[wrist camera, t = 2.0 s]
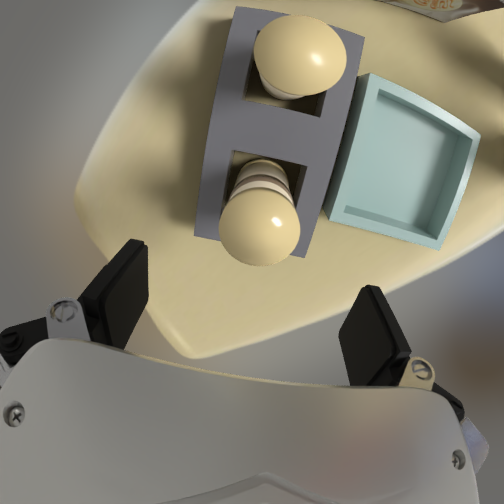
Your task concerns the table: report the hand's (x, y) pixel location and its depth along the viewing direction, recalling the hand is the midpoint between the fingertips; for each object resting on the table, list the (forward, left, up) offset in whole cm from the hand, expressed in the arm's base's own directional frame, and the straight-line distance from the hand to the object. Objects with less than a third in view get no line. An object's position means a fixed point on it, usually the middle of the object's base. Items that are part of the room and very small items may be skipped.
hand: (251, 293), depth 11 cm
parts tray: (-6, +13, -15) cm, 20 cm away
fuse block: (-6, 0, -15) cm, 16 cm away
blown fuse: (-1, 0, -15) cm, 15 cm away
